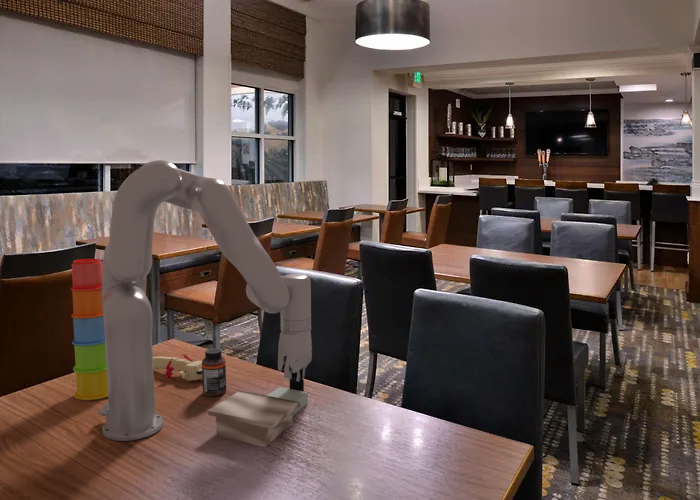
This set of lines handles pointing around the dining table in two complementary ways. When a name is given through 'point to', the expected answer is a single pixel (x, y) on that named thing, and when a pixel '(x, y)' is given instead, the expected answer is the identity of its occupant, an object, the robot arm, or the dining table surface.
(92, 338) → the stacking cups
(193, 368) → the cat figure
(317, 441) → the dining table surface
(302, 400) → the pale green tile
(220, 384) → the supplement bottle
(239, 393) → the beige wooden box
